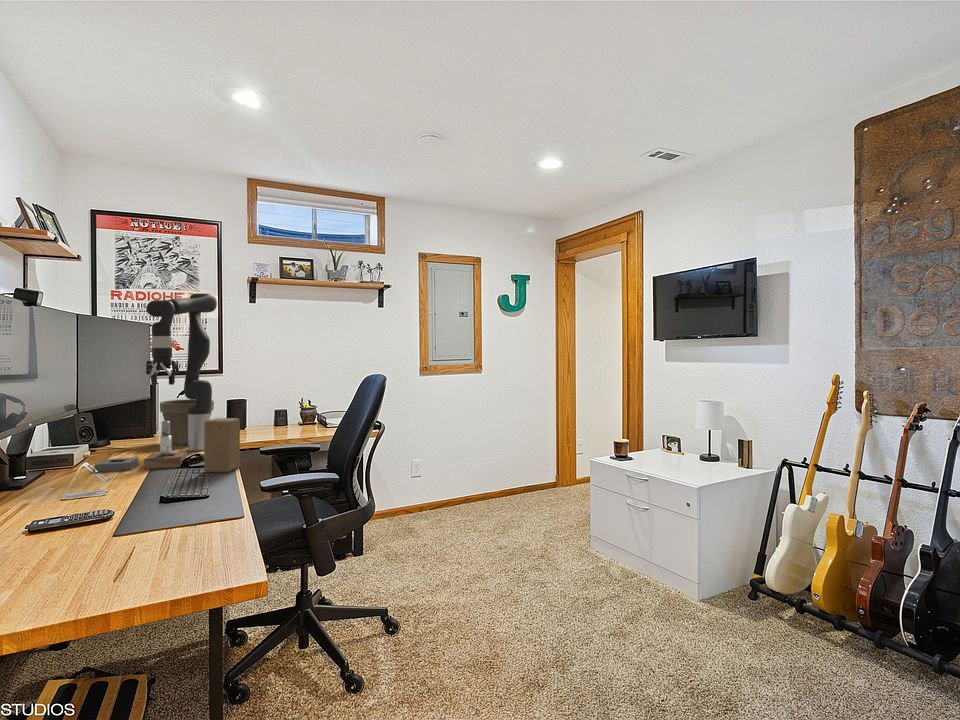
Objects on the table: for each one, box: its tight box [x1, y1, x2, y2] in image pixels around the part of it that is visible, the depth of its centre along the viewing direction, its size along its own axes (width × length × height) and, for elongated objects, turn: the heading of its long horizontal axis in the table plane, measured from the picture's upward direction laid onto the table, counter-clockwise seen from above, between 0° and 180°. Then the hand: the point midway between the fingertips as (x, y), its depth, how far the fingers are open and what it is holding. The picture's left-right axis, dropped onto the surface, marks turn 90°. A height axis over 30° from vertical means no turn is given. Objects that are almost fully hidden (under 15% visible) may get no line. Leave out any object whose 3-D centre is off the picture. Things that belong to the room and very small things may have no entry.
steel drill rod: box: [159, 421, 173, 457], centre depth 223 cm, size 4×4×18 cm
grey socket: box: [94, 457, 140, 473], centre depth 216 cm, size 12×12×3 cm
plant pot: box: [159, 398, 215, 446], centre depth 280 cm, size 25×25×22 cm
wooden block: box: [203, 417, 241, 473], centre depth 213 cm, size 10×10×20 cm
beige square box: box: [143, 451, 188, 470], centre depth 223 cm, size 13×13×4 cm
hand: (162, 384), depth 233 cm, fingers open, 8 cm apart
